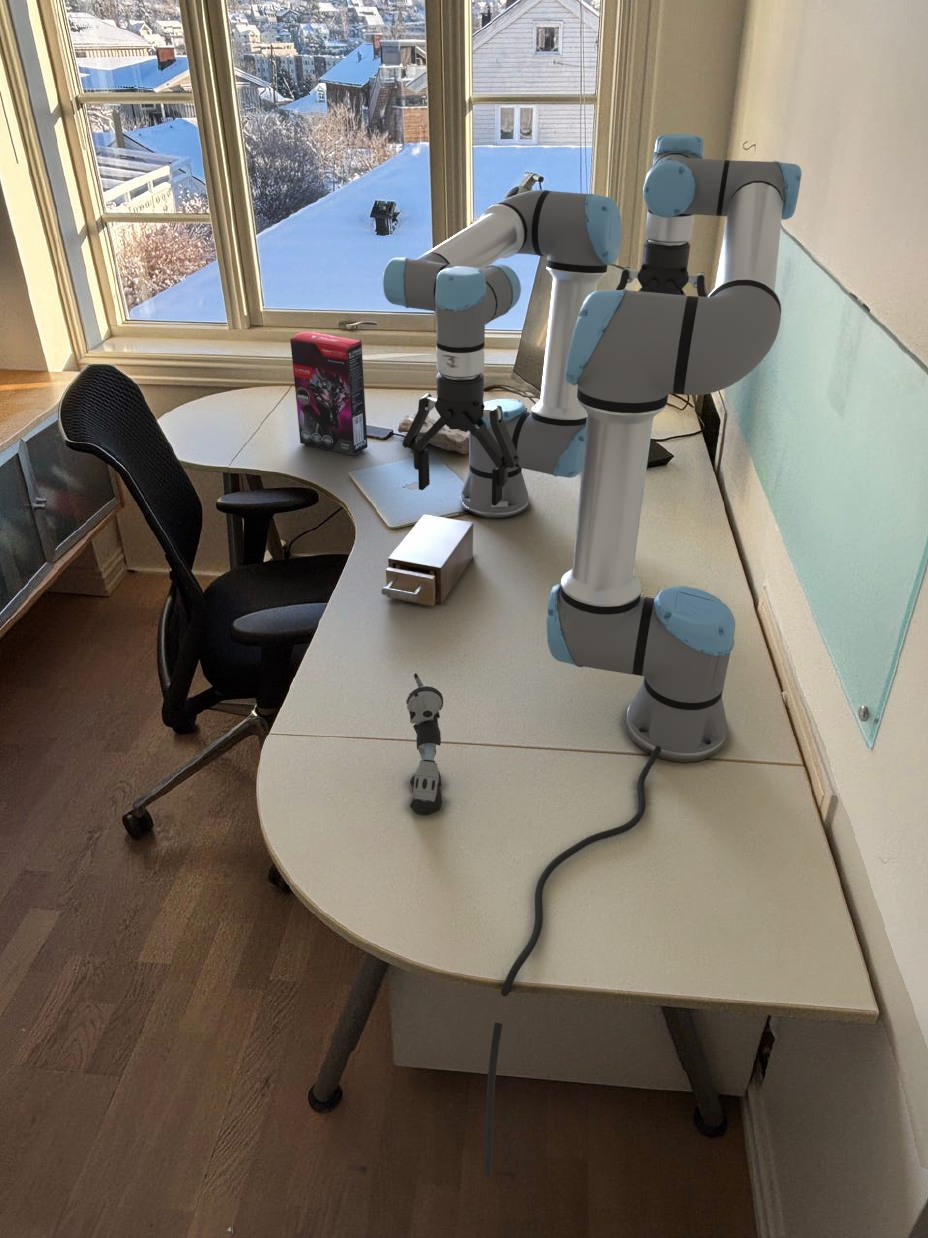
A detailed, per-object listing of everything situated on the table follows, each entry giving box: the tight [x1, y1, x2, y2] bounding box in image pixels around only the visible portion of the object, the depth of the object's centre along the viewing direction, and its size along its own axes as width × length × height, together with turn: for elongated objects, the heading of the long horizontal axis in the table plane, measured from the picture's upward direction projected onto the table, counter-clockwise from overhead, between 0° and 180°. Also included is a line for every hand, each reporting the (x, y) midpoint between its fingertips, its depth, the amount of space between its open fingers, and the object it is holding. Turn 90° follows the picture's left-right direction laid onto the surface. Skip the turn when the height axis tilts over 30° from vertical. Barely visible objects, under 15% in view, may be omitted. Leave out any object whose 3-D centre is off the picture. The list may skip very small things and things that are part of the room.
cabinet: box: [387, 514, 474, 605], centre depth 179 cm, size 19×10×8 cm, turn 161°
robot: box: [405, 673, 444, 816], centre depth 125 cm, size 20×5×20 cm, turn 3°
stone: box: [397, 413, 469, 455], centre depth 233 cm, size 21×15×6 cm
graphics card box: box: [289, 330, 368, 456], centre depth 225 cm, size 17×7×27 cm, turn 62°
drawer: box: [381, 564, 437, 607], centre depth 175 cm, size 23×9×6 cm, turn 161°
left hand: (459, 494), depth 157 cm, fingers open, 13 cm apart
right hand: (651, 367), depth 163 cm, fingers open, 13 cm apart
